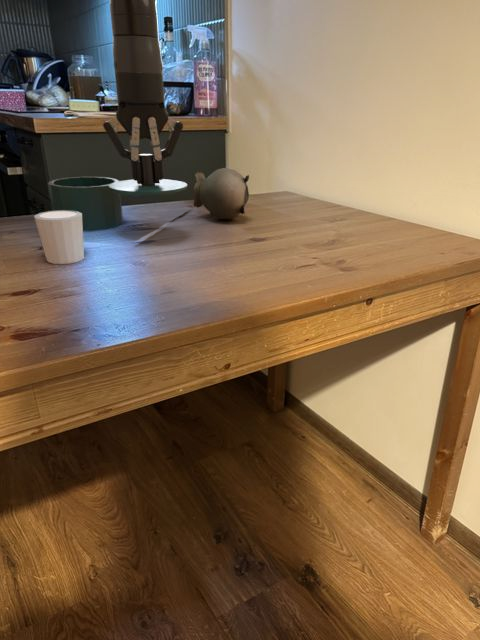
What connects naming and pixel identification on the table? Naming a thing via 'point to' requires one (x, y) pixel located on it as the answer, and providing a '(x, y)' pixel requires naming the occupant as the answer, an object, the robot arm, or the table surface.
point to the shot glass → (61, 236)
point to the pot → (88, 200)
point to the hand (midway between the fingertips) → (148, 182)
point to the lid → (147, 182)
